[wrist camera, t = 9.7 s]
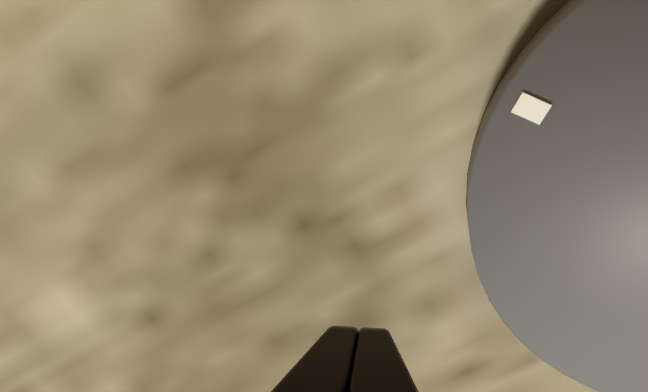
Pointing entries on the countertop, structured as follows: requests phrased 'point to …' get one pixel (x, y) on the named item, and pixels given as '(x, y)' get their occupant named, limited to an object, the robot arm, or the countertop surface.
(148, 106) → the countertop surface
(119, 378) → the countertop surface
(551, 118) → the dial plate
